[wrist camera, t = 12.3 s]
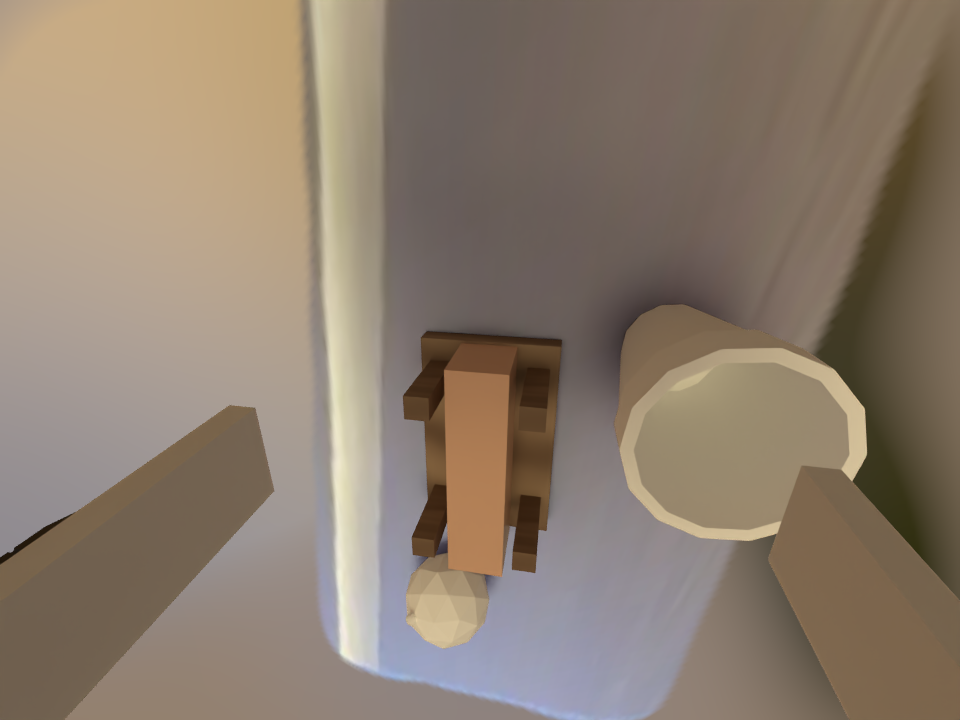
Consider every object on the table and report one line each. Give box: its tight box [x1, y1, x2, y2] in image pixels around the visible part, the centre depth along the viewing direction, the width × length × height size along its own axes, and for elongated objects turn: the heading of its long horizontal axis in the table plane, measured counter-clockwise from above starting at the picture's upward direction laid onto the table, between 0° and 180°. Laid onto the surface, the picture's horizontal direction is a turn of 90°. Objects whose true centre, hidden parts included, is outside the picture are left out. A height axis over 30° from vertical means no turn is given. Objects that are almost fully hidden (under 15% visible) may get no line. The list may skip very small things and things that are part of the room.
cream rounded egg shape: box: [406, 553, 489, 649], centre depth 38 cm, size 7×7×8 cm
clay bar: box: [444, 343, 518, 577], centre depth 32 cm, size 16×4×5 cm, turn 179°
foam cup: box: [614, 304, 867, 541], centre depth 24 cm, size 10×9×13 cm
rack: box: [403, 332, 562, 573], centre depth 32 cm, size 16×10×8 cm, turn 179°
